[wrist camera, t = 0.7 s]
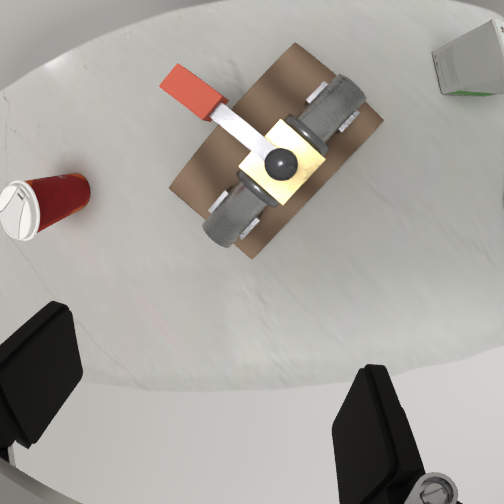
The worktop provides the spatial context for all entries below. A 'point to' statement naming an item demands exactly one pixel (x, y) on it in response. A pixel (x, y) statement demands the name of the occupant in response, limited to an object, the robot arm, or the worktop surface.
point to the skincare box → (473, 62)
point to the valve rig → (282, 136)
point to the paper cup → (41, 203)
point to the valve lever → (228, 120)
